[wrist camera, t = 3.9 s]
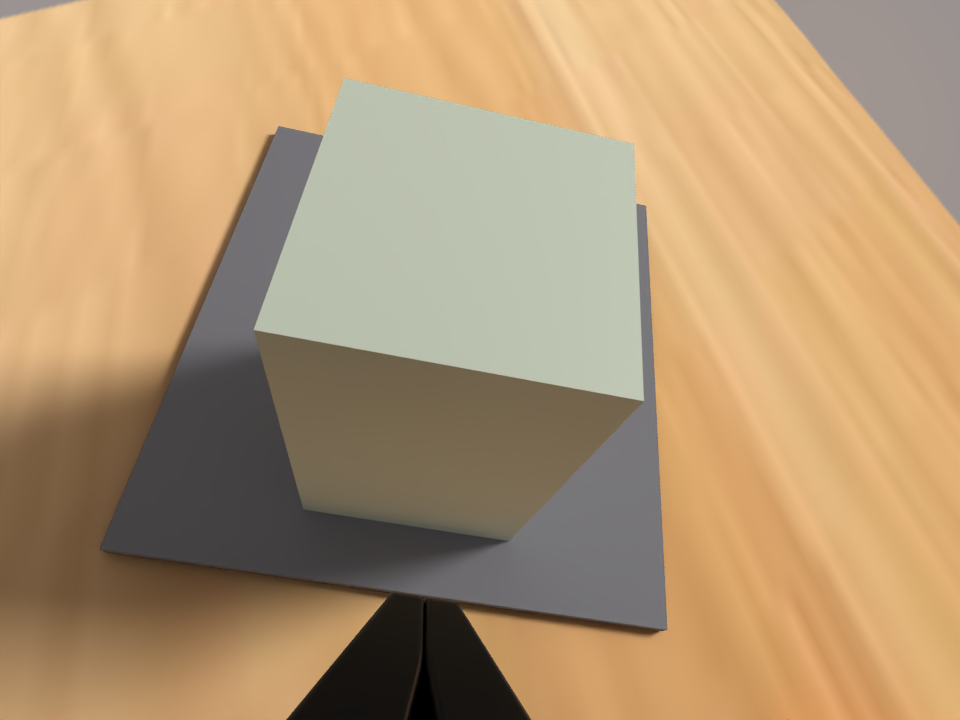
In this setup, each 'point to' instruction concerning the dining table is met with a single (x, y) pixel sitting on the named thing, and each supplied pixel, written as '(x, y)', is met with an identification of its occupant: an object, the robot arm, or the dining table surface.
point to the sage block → (452, 313)
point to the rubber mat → (355, 541)
